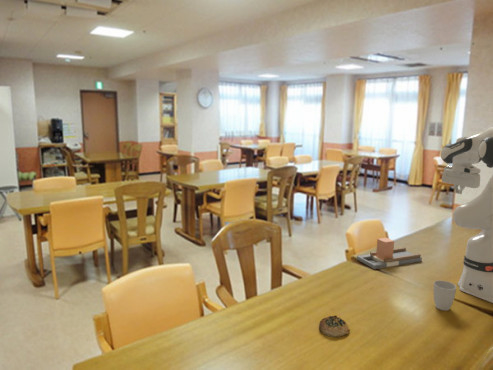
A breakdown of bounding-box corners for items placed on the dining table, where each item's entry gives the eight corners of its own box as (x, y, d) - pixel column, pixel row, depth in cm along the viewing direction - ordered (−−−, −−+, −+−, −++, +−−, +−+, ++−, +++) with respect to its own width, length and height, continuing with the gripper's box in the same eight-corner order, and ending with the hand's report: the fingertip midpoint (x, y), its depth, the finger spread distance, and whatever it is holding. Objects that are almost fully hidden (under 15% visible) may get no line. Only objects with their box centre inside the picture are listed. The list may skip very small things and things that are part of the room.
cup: (457, 312, 147) (460, 289, 145) (437, 312, 147) (439, 289, 145) (447, 302, 155) (449, 280, 153) (427, 302, 155) (430, 280, 153)
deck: (421, 261, 200) (422, 255, 199) (374, 269, 188) (374, 262, 188) (402, 252, 213) (402, 246, 212) (356, 259, 201) (357, 253, 201)
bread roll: (327, 317, 142) (329, 306, 141) (353, 331, 136) (356, 320, 134) (312, 330, 134) (314, 319, 132) (340, 346, 127) (342, 334, 126)
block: (392, 258, 197) (394, 241, 196) (383, 260, 195) (385, 242, 193) (384, 254, 203) (386, 237, 201) (376, 256, 201) (377, 238, 199)
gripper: (440, 165, 203) (437, 190, 205) (474, 170, 184) (471, 197, 187) (448, 165, 205) (445, 189, 208) (483, 170, 186) (480, 196, 189)
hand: (458, 193), depth 197 cm, fingers closed
